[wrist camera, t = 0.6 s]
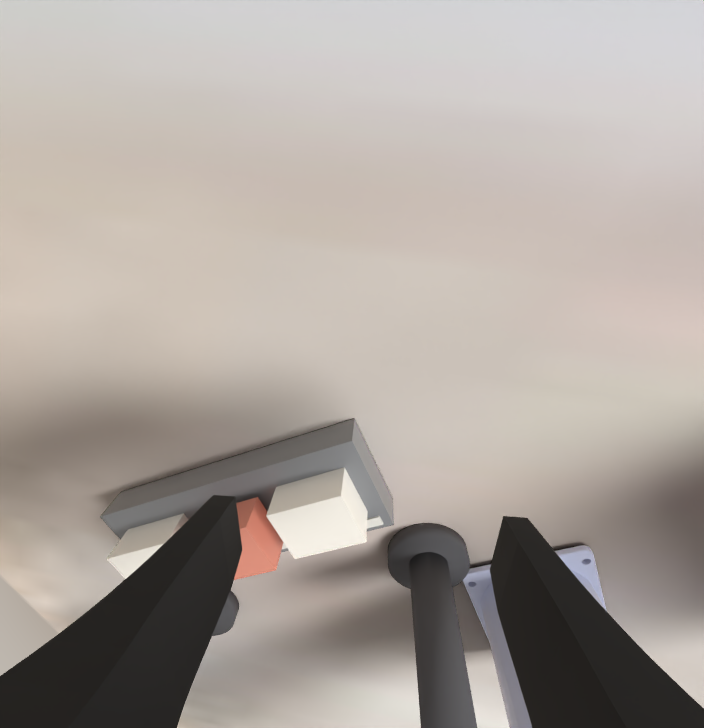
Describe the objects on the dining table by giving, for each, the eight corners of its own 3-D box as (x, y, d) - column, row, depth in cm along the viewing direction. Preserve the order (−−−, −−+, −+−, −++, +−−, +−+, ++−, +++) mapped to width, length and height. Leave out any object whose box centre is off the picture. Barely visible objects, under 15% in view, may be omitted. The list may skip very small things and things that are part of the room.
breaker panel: (392, 498, 23) (395, 556, 19) (173, 555, 27) (141, 613, 23) (354, 418, 21) (349, 467, 17) (120, 492, 24) (75, 545, 21)
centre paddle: (284, 537, 22) (275, 570, 20) (224, 552, 23) (210, 585, 21) (257, 496, 21) (245, 527, 19) (195, 514, 21) (178, 545, 20)
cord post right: (475, 568, 25) (537, 820, 15) (403, 584, 26) (416, 827, 16) (453, 515, 23) (507, 761, 13) (376, 533, 24) (373, 773, 15)
